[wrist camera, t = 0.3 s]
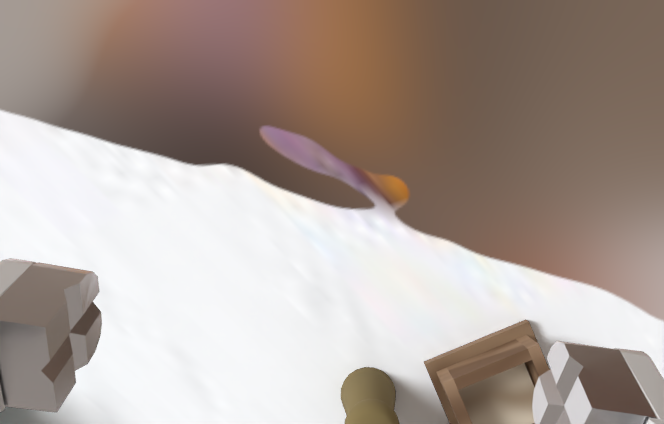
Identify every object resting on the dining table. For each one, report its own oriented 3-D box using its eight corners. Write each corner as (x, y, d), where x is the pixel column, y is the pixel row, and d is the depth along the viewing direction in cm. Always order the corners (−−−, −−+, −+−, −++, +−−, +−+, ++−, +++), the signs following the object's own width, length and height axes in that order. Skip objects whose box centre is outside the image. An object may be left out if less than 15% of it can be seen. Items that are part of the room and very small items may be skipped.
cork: (398, 418, 63) (410, 464, 52) (344, 424, 63) (343, 471, 52) (392, 364, 63) (402, 398, 52) (337, 370, 63) (335, 406, 52)
